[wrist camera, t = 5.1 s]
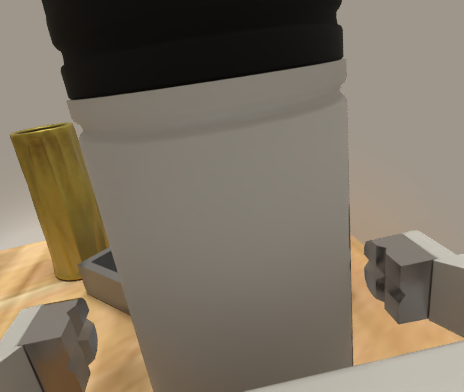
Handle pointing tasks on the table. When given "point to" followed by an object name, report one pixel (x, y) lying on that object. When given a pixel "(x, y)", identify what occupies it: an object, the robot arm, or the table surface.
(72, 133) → the vase
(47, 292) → the table surface
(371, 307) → the table surface
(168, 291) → the travel mug
